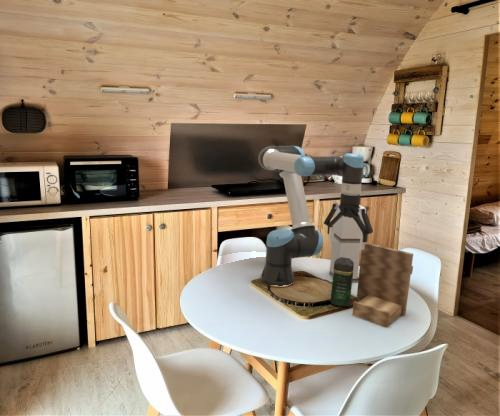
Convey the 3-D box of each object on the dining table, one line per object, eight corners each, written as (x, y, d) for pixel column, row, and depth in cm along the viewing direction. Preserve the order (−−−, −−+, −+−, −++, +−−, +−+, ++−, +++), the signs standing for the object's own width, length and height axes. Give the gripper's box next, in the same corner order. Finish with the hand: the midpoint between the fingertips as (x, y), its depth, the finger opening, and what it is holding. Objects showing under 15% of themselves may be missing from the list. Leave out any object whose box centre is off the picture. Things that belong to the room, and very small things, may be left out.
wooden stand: (340, 311, 173) (346, 250, 167) (360, 298, 186) (366, 241, 180) (389, 328, 160) (397, 263, 155) (407, 313, 173) (414, 252, 168)
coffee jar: (348, 308, 175) (353, 264, 171) (328, 305, 177) (332, 261, 173) (351, 299, 184) (355, 257, 180) (332, 296, 186) (335, 254, 182)
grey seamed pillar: (359, 282, 203) (366, 208, 196) (337, 283, 201) (343, 208, 194) (350, 273, 214) (357, 203, 207) (329, 274, 212) (335, 203, 205)
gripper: (317, 190, 176) (314, 241, 180) (377, 199, 160) (371, 255, 165) (327, 188, 181) (323, 237, 186) (385, 197, 166) (379, 251, 170)
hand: (345, 246), depth 175 cm, fingers open, 13 cm apart
